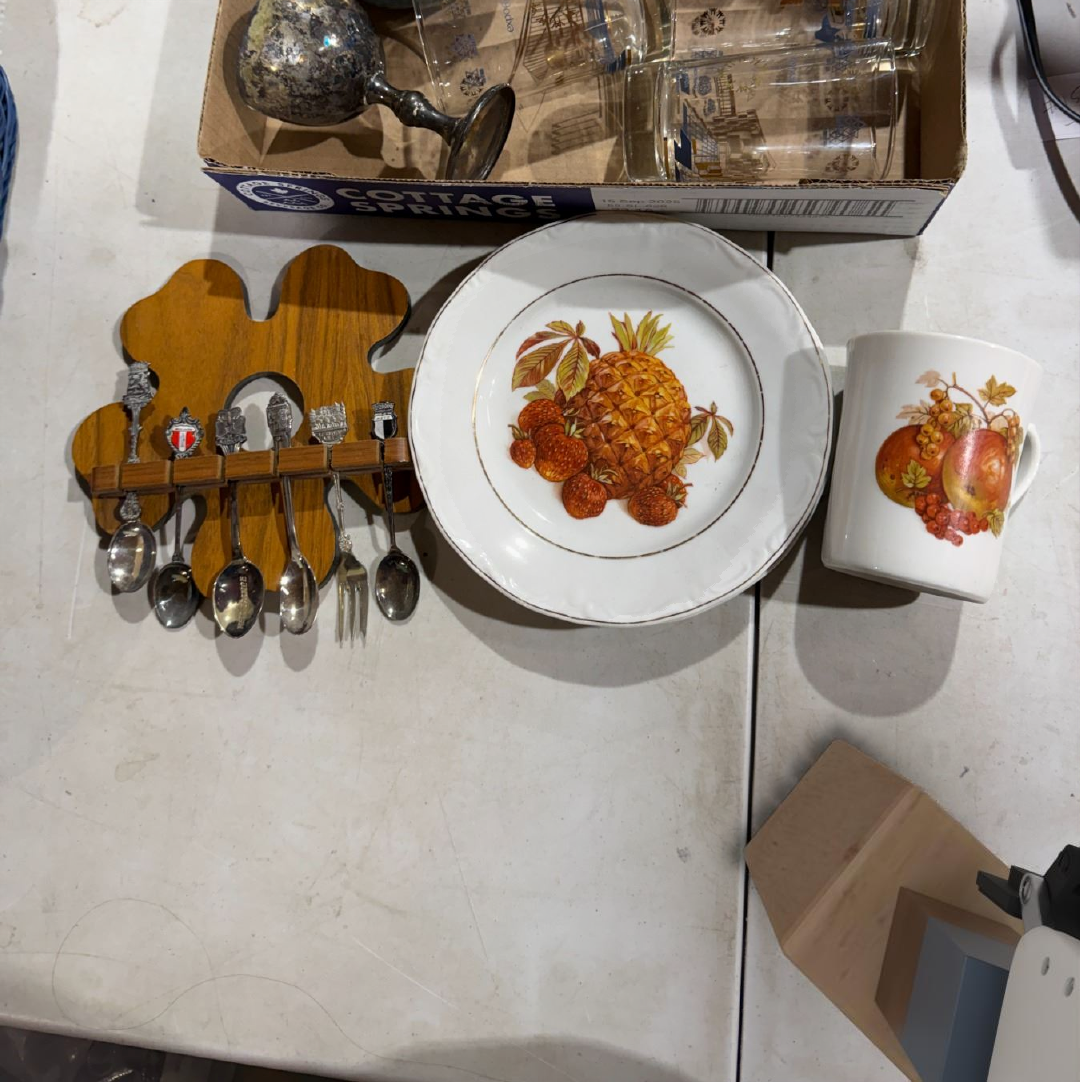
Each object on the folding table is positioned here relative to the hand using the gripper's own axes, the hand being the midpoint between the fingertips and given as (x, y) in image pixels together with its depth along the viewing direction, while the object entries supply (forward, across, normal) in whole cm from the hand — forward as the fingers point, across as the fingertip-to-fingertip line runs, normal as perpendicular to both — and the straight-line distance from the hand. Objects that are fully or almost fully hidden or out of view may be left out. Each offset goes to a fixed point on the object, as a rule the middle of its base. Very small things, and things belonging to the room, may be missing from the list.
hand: (989, 1020), depth 38 cm
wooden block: (+27, +1, 0) cm, 27 cm away
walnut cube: (+6, 0, 0) cm, 6 cm away
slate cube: (+1, 0, 0) cm, 1 cm away
